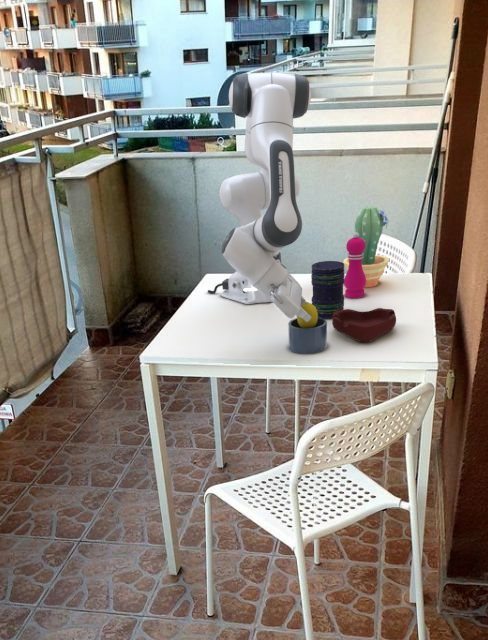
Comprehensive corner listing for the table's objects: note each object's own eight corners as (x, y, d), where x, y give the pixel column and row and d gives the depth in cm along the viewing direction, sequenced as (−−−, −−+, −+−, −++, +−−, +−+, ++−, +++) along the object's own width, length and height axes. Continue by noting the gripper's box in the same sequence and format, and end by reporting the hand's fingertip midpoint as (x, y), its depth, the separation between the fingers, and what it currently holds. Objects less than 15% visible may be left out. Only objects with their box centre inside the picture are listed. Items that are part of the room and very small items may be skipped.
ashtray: (332, 345, 191) (332, 328, 188) (332, 325, 205) (332, 309, 202) (398, 343, 188) (399, 326, 186) (394, 323, 202) (394, 307, 199)
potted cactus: (379, 291, 229) (383, 212, 216) (335, 288, 236) (336, 211, 223) (394, 279, 240) (398, 202, 227) (351, 276, 247) (353, 201, 234)
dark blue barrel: (343, 308, 217) (344, 260, 210) (344, 318, 209) (345, 268, 201) (311, 309, 219) (311, 261, 211) (311, 319, 210) (310, 270, 203)
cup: (281, 349, 191) (281, 325, 188) (303, 338, 198) (303, 314, 194) (312, 356, 185) (311, 331, 182) (333, 344, 191) (333, 320, 188)
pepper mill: (369, 293, 229) (371, 230, 218) (360, 299, 224) (362, 235, 213) (348, 291, 232) (350, 229, 222) (339, 297, 227) (340, 234, 217)
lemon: (317, 334, 186) (316, 305, 182) (296, 334, 187) (295, 305, 183) (318, 327, 191) (318, 298, 187) (298, 327, 192) (297, 299, 188)
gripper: (277, 282, 173) (317, 319, 176) (282, 261, 190) (318, 295, 194) (260, 300, 176) (300, 336, 179) (266, 278, 193) (302, 311, 197)
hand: (309, 315), depth 187 cm, fingers closed on lemon, 5 cm apart
